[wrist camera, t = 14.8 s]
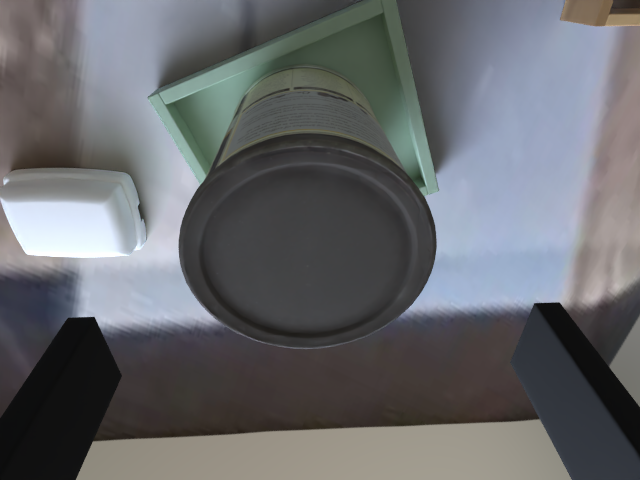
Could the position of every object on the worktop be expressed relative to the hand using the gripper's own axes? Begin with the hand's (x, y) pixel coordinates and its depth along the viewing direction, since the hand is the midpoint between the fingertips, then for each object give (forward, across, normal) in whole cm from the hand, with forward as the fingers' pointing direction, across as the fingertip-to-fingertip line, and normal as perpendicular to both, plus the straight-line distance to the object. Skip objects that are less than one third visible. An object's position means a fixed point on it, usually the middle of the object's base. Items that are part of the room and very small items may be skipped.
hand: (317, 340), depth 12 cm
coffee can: (+18, 0, 0) cm, 18 cm away
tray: (+19, 0, 0) cm, 19 cm away
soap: (+19, -18, -6) cm, 26 cm away
